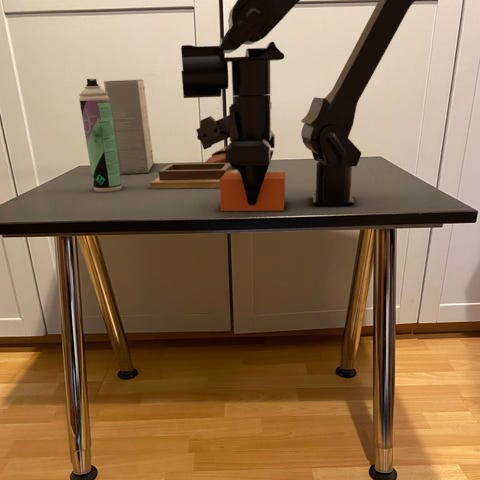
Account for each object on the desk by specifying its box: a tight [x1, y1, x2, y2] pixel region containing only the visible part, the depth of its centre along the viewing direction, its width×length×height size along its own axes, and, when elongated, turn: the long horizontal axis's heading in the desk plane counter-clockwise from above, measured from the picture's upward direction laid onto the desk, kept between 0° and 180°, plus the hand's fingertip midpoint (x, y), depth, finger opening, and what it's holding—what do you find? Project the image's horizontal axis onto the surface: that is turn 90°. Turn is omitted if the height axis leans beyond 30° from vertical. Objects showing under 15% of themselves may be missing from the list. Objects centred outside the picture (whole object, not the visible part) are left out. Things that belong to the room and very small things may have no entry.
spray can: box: [78, 78, 123, 193], centre depth 93 cm, size 6×6×20 cm
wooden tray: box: [150, 162, 240, 190], centre depth 101 cm, size 14×16×3 cm
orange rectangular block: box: [219, 171, 286, 212], centre depth 78 cm, size 6×10×5 cm, turn 84°
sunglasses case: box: [204, 145, 234, 169], centre depth 120 cm, size 18×7×7 cm, turn 172°
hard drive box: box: [103, 78, 154, 175], centre depth 115 cm, size 16×8×20 cm, turn 5°
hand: (253, 200), depth 79 cm, fingers closed on orange rectangular block, 6 cm apart
